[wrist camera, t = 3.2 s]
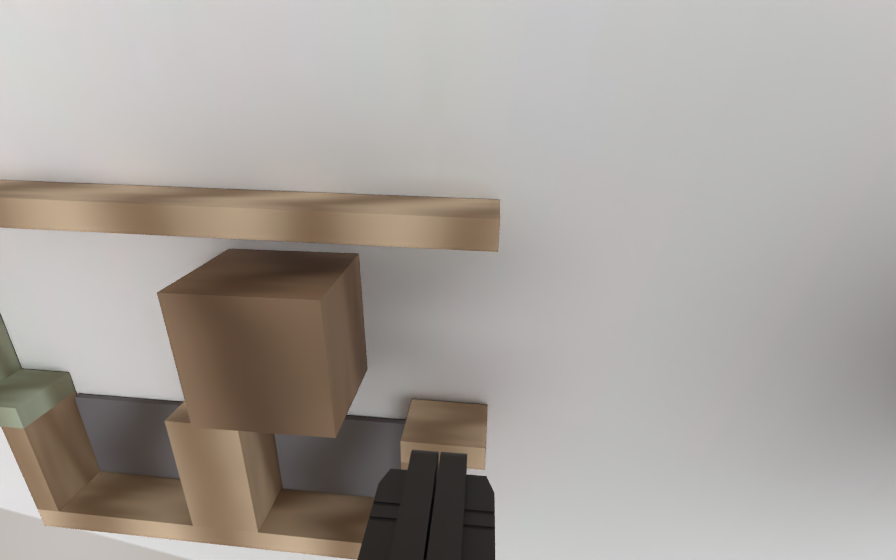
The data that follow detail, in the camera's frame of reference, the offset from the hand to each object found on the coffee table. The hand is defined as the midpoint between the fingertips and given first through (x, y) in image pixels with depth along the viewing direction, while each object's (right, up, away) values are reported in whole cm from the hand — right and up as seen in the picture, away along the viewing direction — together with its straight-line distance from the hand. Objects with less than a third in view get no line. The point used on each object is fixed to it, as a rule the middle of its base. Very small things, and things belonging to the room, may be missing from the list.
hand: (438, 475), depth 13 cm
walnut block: (-7, +4, +10) cm, 12 cm away
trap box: (-11, +1, +11) cm, 16 cm away
